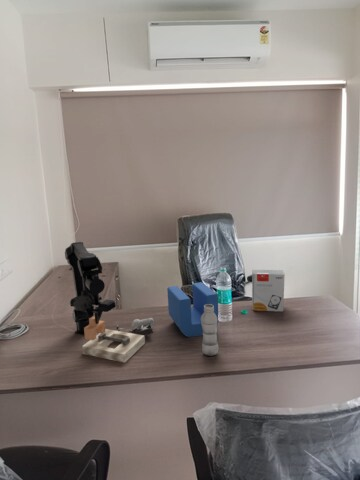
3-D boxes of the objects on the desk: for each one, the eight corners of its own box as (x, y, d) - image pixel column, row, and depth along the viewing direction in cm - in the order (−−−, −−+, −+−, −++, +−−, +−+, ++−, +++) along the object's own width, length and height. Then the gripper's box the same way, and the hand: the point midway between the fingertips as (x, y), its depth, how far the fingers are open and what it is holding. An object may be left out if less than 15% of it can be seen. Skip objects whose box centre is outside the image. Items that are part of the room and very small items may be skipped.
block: (203, 316, 168) (202, 281, 164) (218, 331, 151) (217, 293, 148) (169, 322, 163) (167, 287, 159) (181, 339, 146) (179, 300, 142)
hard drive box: (252, 311, 171) (252, 273, 167) (251, 305, 179) (251, 269, 175) (284, 311, 169) (284, 274, 165) (282, 306, 176) (282, 269, 172)
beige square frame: (83, 353, 137) (81, 341, 136) (106, 336, 151) (105, 325, 150) (124, 362, 129) (123, 350, 128) (145, 343, 144) (144, 331, 142)
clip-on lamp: (115, 345, 149) (153, 336, 147) (110, 333, 147) (149, 324, 145) (120, 330, 160) (156, 322, 158) (116, 319, 159) (152, 310, 157)
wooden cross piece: (85, 338, 134) (83, 320, 133) (97, 330, 141) (96, 313, 140) (93, 340, 132) (91, 322, 131) (105, 331, 140) (103, 314, 138)
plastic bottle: (214, 359, 129) (213, 310, 125) (198, 355, 132) (197, 307, 128) (221, 351, 134) (220, 304, 130) (206, 347, 137) (205, 301, 134)
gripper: (58, 290, 130) (62, 328, 133) (96, 296, 122) (100, 335, 125) (78, 281, 140) (81, 317, 143) (114, 286, 132) (117, 323, 135)
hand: (94, 323), depth 136 cm, fingers closed on wooden cross piece, 2 cm apart
